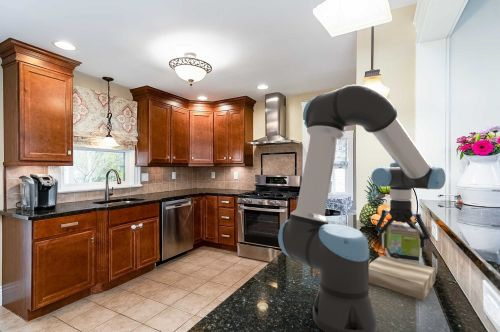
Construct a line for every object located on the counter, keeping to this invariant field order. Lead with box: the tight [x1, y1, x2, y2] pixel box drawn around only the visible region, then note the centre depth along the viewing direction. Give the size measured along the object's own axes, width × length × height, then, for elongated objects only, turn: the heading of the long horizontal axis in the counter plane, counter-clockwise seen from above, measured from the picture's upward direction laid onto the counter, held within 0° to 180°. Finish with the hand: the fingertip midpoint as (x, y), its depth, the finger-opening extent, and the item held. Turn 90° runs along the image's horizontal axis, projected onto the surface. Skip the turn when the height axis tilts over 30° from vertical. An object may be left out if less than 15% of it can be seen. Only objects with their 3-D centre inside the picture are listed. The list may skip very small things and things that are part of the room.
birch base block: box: [369, 254, 436, 301], centre depth 84 cm, size 17×17×5 cm
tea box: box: [385, 221, 420, 264], centre depth 101 cm, size 15×10×15 cm
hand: (401, 251), depth 101 cm, fingers closed on tea box, 12 cm apart
